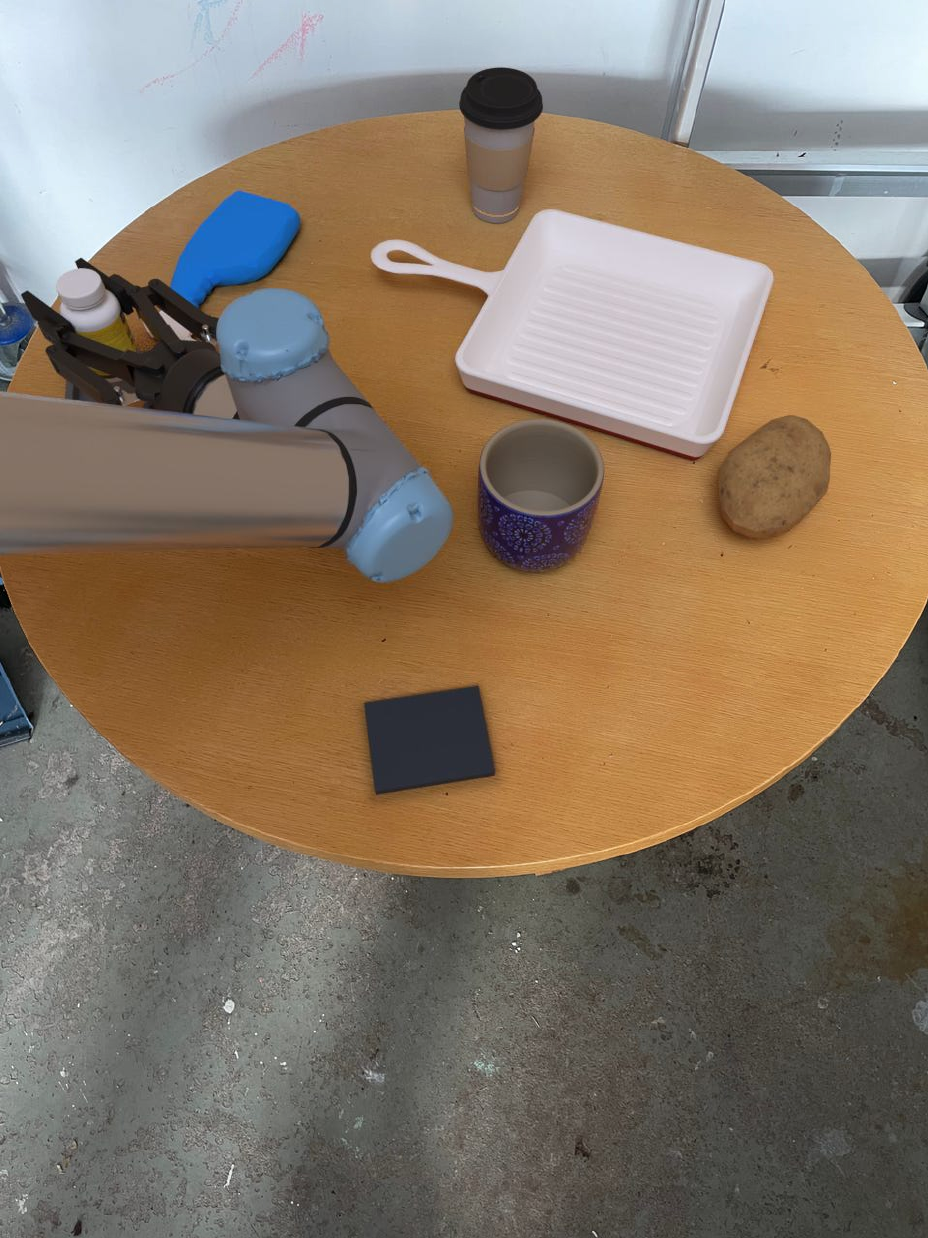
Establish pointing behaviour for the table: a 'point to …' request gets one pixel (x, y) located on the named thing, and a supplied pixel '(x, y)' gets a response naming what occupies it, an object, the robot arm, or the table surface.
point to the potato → (774, 477)
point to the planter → (538, 493)
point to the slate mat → (428, 740)
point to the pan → (609, 329)
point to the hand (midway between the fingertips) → (57, 287)
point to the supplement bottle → (94, 312)
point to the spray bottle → (232, 248)
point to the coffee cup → (499, 138)
